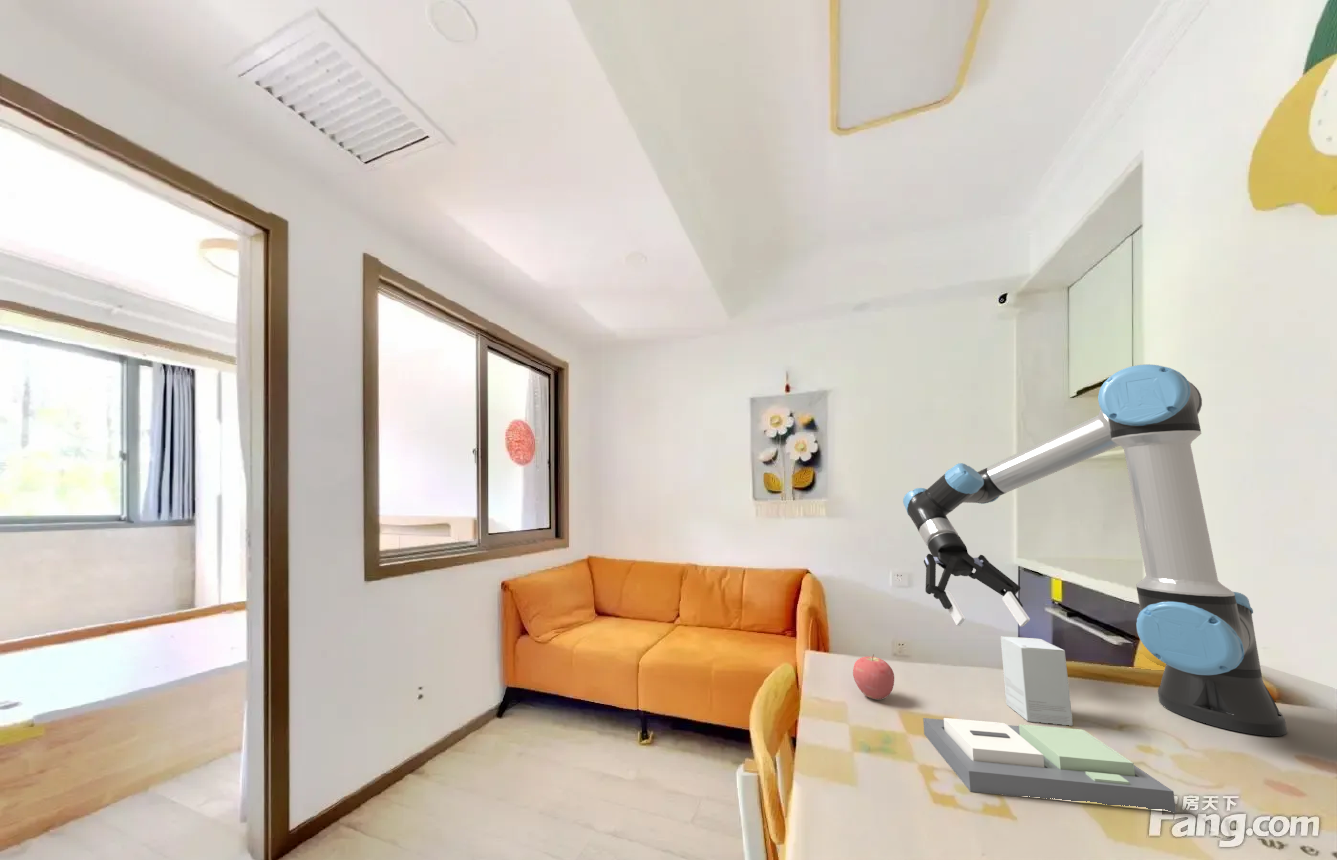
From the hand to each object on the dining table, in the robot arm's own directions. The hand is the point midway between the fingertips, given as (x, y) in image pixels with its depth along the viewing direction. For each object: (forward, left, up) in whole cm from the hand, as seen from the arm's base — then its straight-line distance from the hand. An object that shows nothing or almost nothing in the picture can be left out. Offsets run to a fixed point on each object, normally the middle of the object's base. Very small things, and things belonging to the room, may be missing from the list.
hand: (993, 622), depth 94 cm
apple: (+26, +7, -14) cm, 30 cm away
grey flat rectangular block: (+10, +28, -14) cm, 32 cm away
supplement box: (-2, +9, -14) cm, 17 cm away
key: (+4, +28, -12) cm, 30 cm away
